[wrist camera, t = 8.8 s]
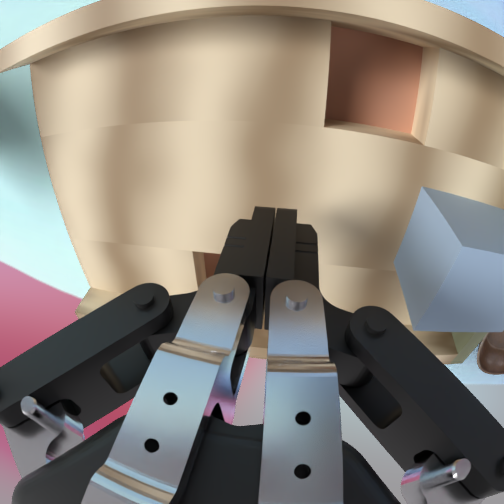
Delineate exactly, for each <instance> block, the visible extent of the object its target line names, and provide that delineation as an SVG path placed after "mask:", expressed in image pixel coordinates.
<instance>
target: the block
mask: <svg viewBox="0 0 504 504" xmlns="http://www.w3.org/2000/svg"><path fill="white" fill-rule="evenodd" d="M393 263H394V266H395V269H396V272H397V275H398V278H399V281H400V285H401V288H402V291H403V295H404V298H405V302H406V305H407V309H408V313H409V316H410V320H411V324H412V328H413V331H436V332H503V331H504V209H501V208H498V207H495V206H491V205H488V204H485V203H482V202H479V201H475V200H472V199H468V198H465V197H461V196H458V195H454V194H450V193H447V192H443V191H439V190H435V189H431V188H427V187H423V186H422V187H421V190H420V193H419V196H418V199H417V202H416V205H415V208H414V211H413V214H412V216H411V219H410V222H409V224H408V227H407V230H406V232H405V235H404V238H403V240H402V243H401V245H400V248H399V250H398V252H397V255H396V257H395V260H394V262H393Z"/></svg>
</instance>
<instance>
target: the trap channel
mask: <svg viewBox="0 0 504 504" xmlns="http://www.w3.org/2000/svg"><path fill="white" fill-rule="evenodd" d="M28 64H30V71H31V81H32V89H33V97H34V103H35V110H36V116H37V121H38V127H39V132H40V137H41V142H42V146H43V150H44V155H45V159H46V163H47V167H48V171H49V174H50V178H51V182H52V185H53V189H54V192H55V195H56V199H57V202H58V205H59V208H60V211H61V214H62V217H63V220H64V223H65V226H66V228H67V231H68V234H69V237H70V239H71V242H72V245H73V247H74V250H75V252H76V255H77V257H78V260H79V262H80V265H81V267H82V269H83V272H84V274H85V276H86V278H87V281H88V283H89V285H90V289H89V290H88V292H87V294H86V295H85V297H84V298H83V300H82V301H81V303H80V304H79V306H78V308H77V309H76V311H75V313H76V315H77V317H78V318H79V319H80V318H82V317H84V316H85V315H87V314H89V313H90V312H92V311H94V310H95V309H97V308H99V307H101V306H102V305H104V304H106V303H107V302H109V301H111V300H113V299H114V298H116V297H118V296H120V295H121V294H123V293H125V292H126V291H128V290H130V289H132V288H133V287H135V286H137V285H140V284H144V283H156V284H160V285H162V286H163V287H164V288H166V290H167V291H168V293H169V295H177V294H185V293H191V292H194V291H197V290H198V289H199V287H200V285H201V284H202V282H203V281H204V280H206V279H207V278H209V277H211V276H213V275H214V272H215V269H216V266H217V263H218V261H219V258H220V255H221V252H222V249H223V247H224V244H225V241H226V238H227V235H228V233H229V230H230V227H231V226H232V225H233V224H234V223H235V222H236V221H238V220H239V219H249V220H251V219H252V215H253V212H254V208H255V206H260V207H274V208H276V211H277V208H287V209H297V223H300V224H311V225H312V227H313V228H314V230H315V231H316V232H317V236H318V261H319V288H320V292H321V294H322V296H323V297H324V298H325V299H326V300H327V301H328V302H329V303H330V304H332V305H334V306H335V307H337V308H340V309H343V310H346V311H348V312H351V313H354V312H355V311H356V310H357V309H359V308H361V307H364V306H378V307H381V308H384V309H386V310H387V311H389V312H390V313H391V314H393V315H394V316H395V317H396V318H397V319H398V320H399V321H400V322H401V323H402V324H403V325H404V326H405V327H406V328H407V329H408V330H409V331H410V332H411V333H413V334H414V335H415V336H416V337H417V338H418V339H419V340H420V341H421V342H422V343H423V344H424V345H425V346H426V347H427V348H428V349H429V350H430V351H431V352H432V353H433V354H434V355H435V356H436V357H437V358H438V359H439V360H440V361H441V362H442V363H443V364H457V363H463V361H464V360H465V359H466V358H467V357H468V356H469V355H470V354H471V352H472V351H473V350H474V349H475V348H476V347H477V345H478V344H479V343H480V342H481V340H482V339H483V338H484V337H485V336H486V334H487V333H488V332H436V331H413V328H412V324H411V320H410V316H409V313H408V309H407V305H406V302H405V298H404V295H403V291H402V288H401V285H400V281H399V278H398V275H397V272H396V269H395V266H394V263H393V262H394V260H395V257H396V255H397V252H398V250H399V248H400V245H401V243H402V240H403V238H404V235H405V232H406V230H407V227H408V224H409V222H410V219H411V216H412V214H413V211H414V208H415V205H416V202H417V199H418V196H419V193H420V190H421V187H422V186H423V187H427V188H431V189H435V190H439V191H443V192H447V193H450V194H454V195H458V196H461V197H465V198H468V199H472V200H475V201H479V202H482V203H485V204H488V205H491V206H495V207H498V208H501V209H504V37H502V36H501V35H499V34H497V33H495V32H494V31H492V30H490V29H488V28H486V27H484V26H482V25H480V24H479V23H477V22H475V21H472V20H470V19H468V18H466V17H464V16H462V15H460V14H457V13H455V12H453V11H450V10H448V9H446V8H443V7H441V6H438V5H435V4H433V3H430V2H427V1H425V0H100V1H98V2H95V3H92V4H89V5H87V6H84V7H82V8H79V9H77V10H74V11H72V12H69V13H67V14H65V15H63V16H60V17H58V18H56V19H54V20H52V21H50V22H48V23H46V24H44V25H42V26H40V27H38V28H36V29H34V30H32V31H30V32H29V33H27V34H25V35H23V36H21V37H20V38H18V39H16V40H15V41H13V42H11V43H10V44H8V45H6V46H5V47H3V48H2V49H0V73H2V72H5V71H8V70H11V69H14V68H18V67H21V66H25V65H28ZM275 218H276V215H275ZM264 319H265V314H264ZM268 331H269V330H265V329H264V320H263V326H262V329H254V335H253V340H252V344H251V350H250V354H249V357H252V358H260V359H267V346H268Z"/></svg>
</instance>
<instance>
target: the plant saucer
mask: <svg viewBox="0 0 504 504" xmlns="http://www.w3.org/2000/svg"><path fill="white" fill-rule="evenodd" d="M477 364H478V367H479V368H480V369H481V370H482V371H483V372H485V373H488V374H493V375H499V374H504V331H503V332H488V333H487V334H486V336H485V337H484V338H483V339H482V340H481V342H480V343H479V348H478V354H477Z"/></svg>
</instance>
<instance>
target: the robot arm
mask: <svg viewBox="0 0 504 504" xmlns="http://www.w3.org/2000/svg"><path fill="white" fill-rule="evenodd" d="M275 215H276V218H275ZM264 314H265V319H264ZM263 320H264V329H265V330H269V331H268V346H267V364H266V382H265V400H264V415H263V424H258V425H249V426H234V425H232V423H233V419H234V414H235V405H236V400H237V395H238V392H239V389H240V385H241V382H242V378H243V375H244V371H245V368H246V364H247V361H248V357H249V354H250V350H251V344H252V340H253V335H254V329H262V326H263ZM339 395H340V397H341V398H342V399H343V400H344V401H345V403H346V404H347V405H348V406H349V407H350V408H351V410H352V411H353V412H354V413H355V414H356V416H357V417H358V418H359V419H360V420H361V421H362V423H363V424H364V425H365V426H366V427H367V428H368V429H369V431H370V432H371V433H372V434H373V435H374V436H375V438H376V439H377V440H378V441H379V442H380V444H381V445H382V446H383V447H384V448H385V449H386V450H387V452H388V453H389V454H390V455H391V456H392V457H393V458H394V460H395V461H396V462H397V463H398V464H399V465H400V466H401V468H402V469H403V470H404V471H405V472H406V473H405V474H404V476H403V478H402V482H401V493H402V496H403V497H404V499H405V501H406V503H407V504H481V502H482V501H483V500H484V499H485V498H486V497H489V496H492V495H495V494H498V493H501V492H504V428H503V427H502V426H501V425H500V424H499V422H497V420H496V419H495V418H494V417H493V416H492V415H491V414H490V413H489V411H488V410H487V409H486V408H485V407H484V406H483V405H482V404H481V403H480V402H479V400H478V399H476V397H475V396H474V395H473V394H472V393H471V392H470V391H469V390H468V389H467V388H466V387H465V386H464V385H463V384H462V383H461V381H460V380H459V379H458V378H457V377H456V376H455V375H454V374H453V373H452V372H451V371H450V370H449V369H448V368H447V367H446V366H445V365H444V364H443V363H442V362H441V361H440V360H439V359H438V358H437V357H436V356H435V355H434V354H433V353H432V352H431V351H430V350H429V349H428V348H427V347H426V346H425V345H424V344H423V343H422V342H421V341H420V340H419V339H418V338H417V337H416V336H415V335H414V334H413V333H411V332H410V331H409V330H408V329H407V328H406V327H405V326H404V325H403V324H402V323H401V322H400V321H399V320H398V319H397V318H396V317H395V316H394V315H393V314H391V313H390V312H389V311H387V310H386V309H384V308H381V307H378V306H364V307H361V308H359V309H357V310H356V311H355V312H354V313H351V312H348V311H346V310H343V309H340V308H337V307H335V306H334V305H332V304H330V303H329V302H328V301H327V300H326V299H325V298H324V297H323V296H322V294H321V292H320V288H319V261H318V236H317V232H316V231H315V230H314V228H313V227H312V225H311V224H300V223H297V209H287V208H277V211H276V208H274V207H260V206H255V208H254V212H253V215H252V219H251V220H249V219H239V220H238V221H236V222H235V223H234V224H233V225H232V226H231V227H230V230H229V233H228V235H227V238H226V241H225V244H224V247H223V249H222V252H221V255H220V258H219V261H218V263H217V266H216V269H215V272H214V275H213V276H211V277H209V278H207V279H206V280H204V281H203V282H202V284H201V285H200V287H199V289H198V290H197V291H194V292H191V293H185V294H177V295H169V293H168V291H167V290H166V288H164V287H163V286H162V285H160V284H156V283H144V284H140V285H137V286H135V287H133V288H132V289H130V290H128V291H126V292H125V293H123V294H121V295H120V296H118V297H116V298H114V299H113V300H111V301H109V302H107V303H106V304H104V305H102V306H101V307H99V308H97V309H95V310H94V311H92V312H90V313H89V314H87V315H85V316H84V317H82V318H80V319H78V320H77V321H75V322H73V323H72V324H70V325H69V326H67V327H65V328H64V329H62V330H60V331H59V332H57V333H55V334H54V335H52V336H50V337H49V338H47V339H45V340H44V341H42V342H40V343H39V344H37V345H35V346H34V347H32V348H31V349H29V350H27V351H26V352H24V353H23V354H21V355H19V356H18V357H16V358H14V359H13V360H12V361H10V362H8V363H6V364H5V365H3V366H2V367H0V424H1V425H2V426H3V428H4V431H5V434H6V437H7V440H8V443H9V446H10V449H11V452H12V454H13V457H14V460H15V463H16V465H17V468H18V470H19V473H20V475H21V477H22V479H21V480H20V481H19V482H18V484H17V486H16V487H15V490H14V492H13V496H12V504H401V503H400V502H399V501H398V500H397V499H396V497H395V496H394V495H393V494H392V492H391V491H390V490H389V489H388V488H387V486H386V485H385V484H384V482H382V480H381V479H380V478H379V476H378V475H377V474H376V472H375V471H374V470H373V469H372V467H371V466H370V465H369V464H368V462H367V461H366V460H365V459H364V457H363V456H362V455H361V454H360V453H359V452H358V451H357V450H356V449H355V448H353V447H352V446H351V445H349V444H348V443H347V442H345V441H343V440H342V433H341V416H340V402H339ZM134 397H135V398H134ZM132 398H134V400H133V402H132V404H131V406H130V409H129V411H128V413H127V414H126V415H124V416H122V417H120V418H118V419H117V420H115V421H113V422H112V423H111V424H109V425H107V426H106V427H104V428H103V429H101V430H100V431H98V432H97V433H96V434H94V435H92V436H91V437H89V438H88V439H86V440H85V437H84V435H83V429H84V428H85V427H87V426H89V425H90V424H92V423H94V422H95V421H97V420H99V419H100V418H102V417H104V416H105V415H107V414H109V413H110V412H112V411H113V410H115V409H117V408H118V407H120V406H121V405H123V404H125V403H126V402H128V401H129V400H131V399H132Z"/></svg>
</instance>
